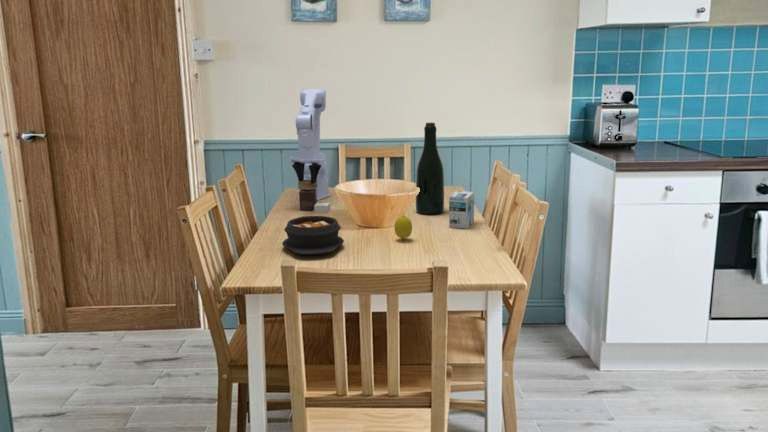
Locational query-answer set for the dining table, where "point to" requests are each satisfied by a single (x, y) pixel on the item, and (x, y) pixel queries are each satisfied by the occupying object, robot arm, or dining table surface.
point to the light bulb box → (461, 209)
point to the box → (307, 199)
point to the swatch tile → (325, 202)
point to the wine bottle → (430, 176)
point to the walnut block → (306, 185)
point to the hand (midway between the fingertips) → (307, 182)
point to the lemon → (403, 227)
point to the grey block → (321, 207)
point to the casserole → (312, 235)
